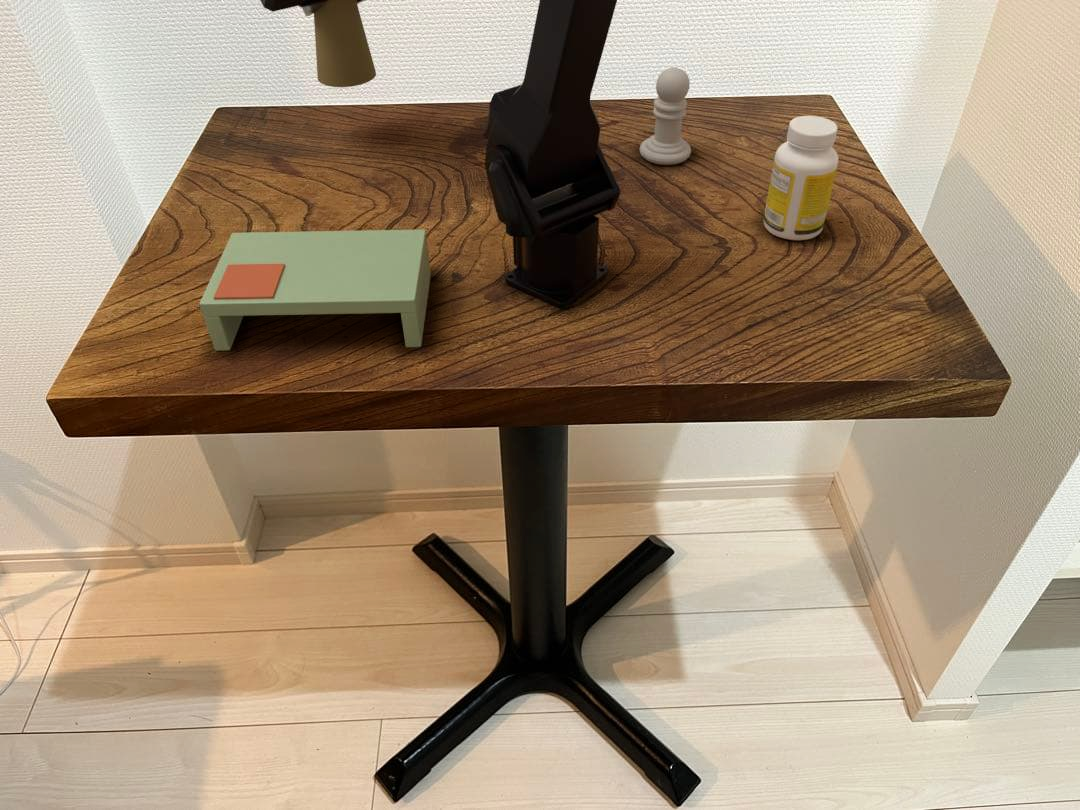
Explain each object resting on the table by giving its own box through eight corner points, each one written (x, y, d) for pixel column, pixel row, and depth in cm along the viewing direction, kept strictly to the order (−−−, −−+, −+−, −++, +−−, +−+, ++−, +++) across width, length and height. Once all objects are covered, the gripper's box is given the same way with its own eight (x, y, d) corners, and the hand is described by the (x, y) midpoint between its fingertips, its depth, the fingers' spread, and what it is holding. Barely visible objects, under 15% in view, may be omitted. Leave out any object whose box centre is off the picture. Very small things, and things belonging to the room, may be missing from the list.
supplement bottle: (827, 219, 80) (852, 118, 74) (815, 247, 77) (840, 144, 70) (770, 207, 82) (789, 107, 75) (755, 234, 78) (774, 132, 72)
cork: (372, 86, 87) (355, -32, 80) (312, 88, 87) (289, -30, 80) (379, 64, 91) (363, -50, 84) (322, 65, 91) (301, -48, 84)
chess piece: (696, 148, 91) (707, 63, 85) (681, 170, 87) (691, 83, 81) (649, 139, 93) (656, 55, 87) (631, 160, 89) (637, 74, 83)
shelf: (421, 347, 67) (414, 297, 64) (214, 351, 67) (197, 301, 64) (430, 274, 74) (425, 226, 71) (245, 277, 74) (231, 230, 71)
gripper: (419, -204, 75) (374, -85, 89) (214, -178, 67) (201, -52, 81) (476, -86, 76) (423, 13, 90) (281, -46, 68) (256, 56, 82)
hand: (329, 5), depth 86 cm, fingers closed on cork, 5 cm apart
